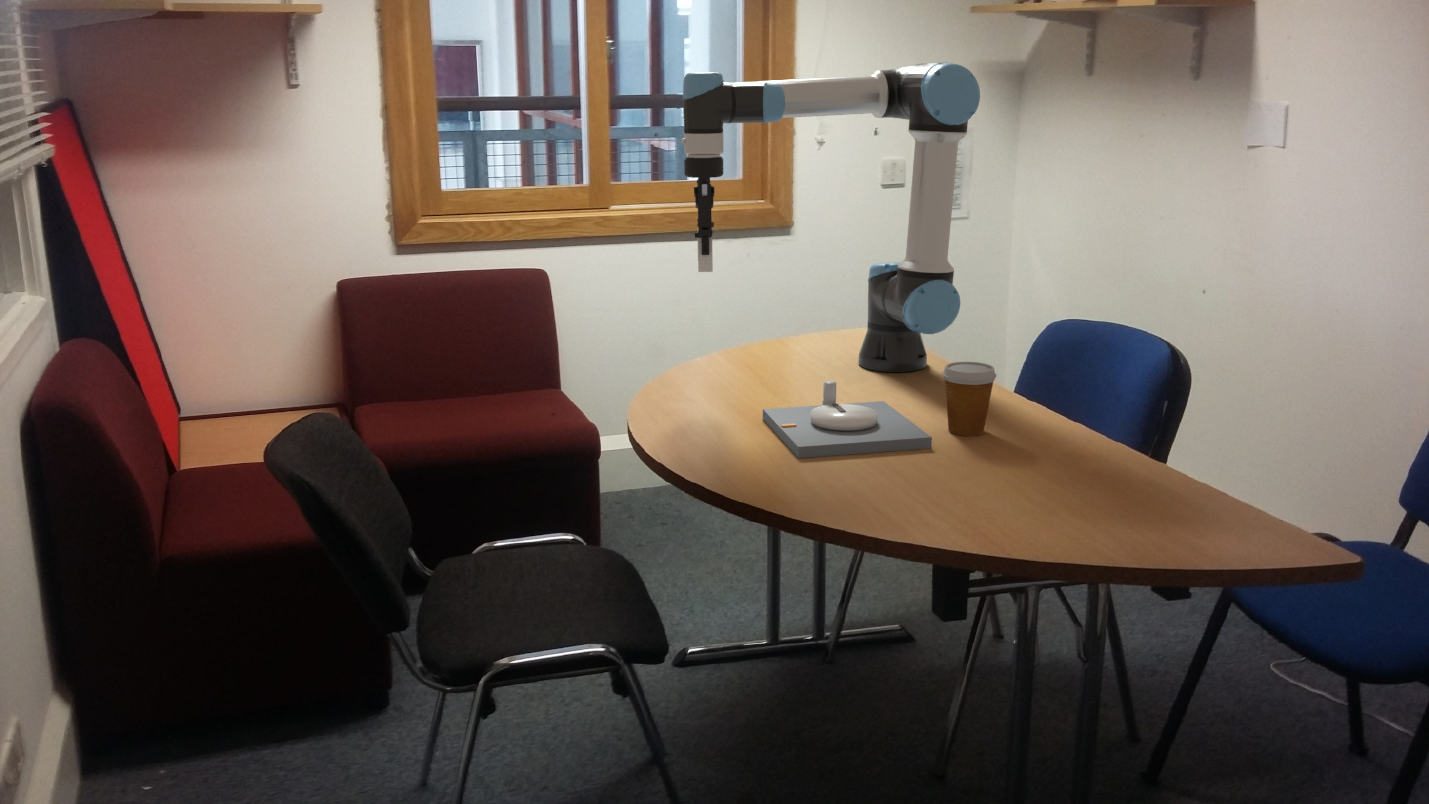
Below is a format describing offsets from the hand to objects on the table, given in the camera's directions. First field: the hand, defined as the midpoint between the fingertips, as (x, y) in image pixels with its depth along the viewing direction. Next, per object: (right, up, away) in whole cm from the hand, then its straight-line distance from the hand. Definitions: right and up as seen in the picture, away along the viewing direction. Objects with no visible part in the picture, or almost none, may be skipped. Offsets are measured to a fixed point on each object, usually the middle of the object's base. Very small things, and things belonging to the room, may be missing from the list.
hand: (705, 266), depth 228 cm
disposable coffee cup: (+48, -32, -17) cm, 60 cm away
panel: (+25, -32, -18) cm, 45 cm away
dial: (+25, -30, -17) cm, 42 cm away
